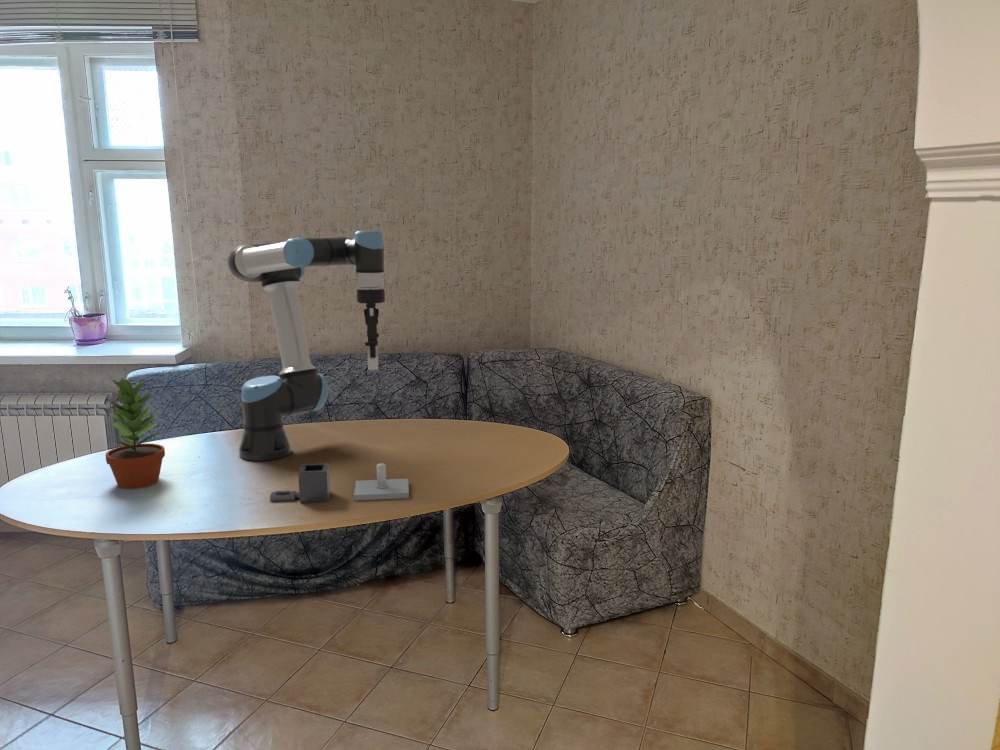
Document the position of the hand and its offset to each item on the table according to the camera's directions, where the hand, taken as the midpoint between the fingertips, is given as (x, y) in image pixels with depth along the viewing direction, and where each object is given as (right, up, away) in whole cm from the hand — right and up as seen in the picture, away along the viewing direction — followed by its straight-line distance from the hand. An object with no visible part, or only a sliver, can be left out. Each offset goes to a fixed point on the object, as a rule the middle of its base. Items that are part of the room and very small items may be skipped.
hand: (372, 364), depth 210 cm
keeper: (+4, -34, -10) cm, 35 cm away
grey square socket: (-16, -35, -15) cm, 41 cm away
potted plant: (-63, -32, -3) cm, 71 cm away
